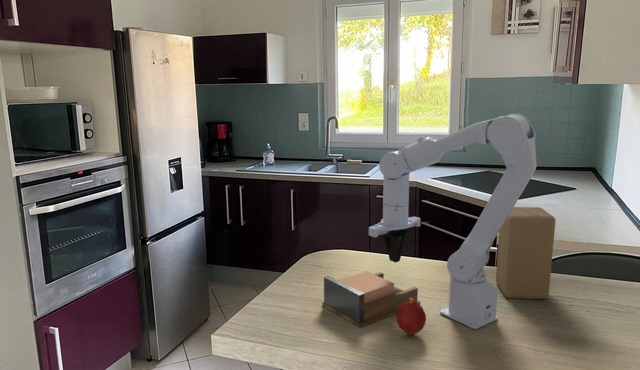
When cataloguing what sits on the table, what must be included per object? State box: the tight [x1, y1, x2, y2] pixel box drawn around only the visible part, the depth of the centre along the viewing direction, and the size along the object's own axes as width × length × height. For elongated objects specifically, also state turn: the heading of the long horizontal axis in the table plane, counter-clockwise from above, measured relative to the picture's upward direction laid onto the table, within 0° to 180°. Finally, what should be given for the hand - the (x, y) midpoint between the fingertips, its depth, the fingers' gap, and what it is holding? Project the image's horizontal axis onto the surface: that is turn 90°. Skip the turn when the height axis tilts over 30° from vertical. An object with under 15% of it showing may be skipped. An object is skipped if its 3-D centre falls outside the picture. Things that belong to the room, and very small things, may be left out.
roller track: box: [321, 271, 421, 328], centre depth 112 cm, size 13×18×7 cm
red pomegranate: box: [395, 298, 427, 336], centre depth 98 cm, size 6×6×8 cm
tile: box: [338, 271, 395, 304], centre depth 110 cm, size 9×10×3 cm
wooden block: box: [495, 206, 557, 300], centre depth 117 cm, size 10×10×20 cm
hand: (394, 260), depth 115 cm, fingers closed
